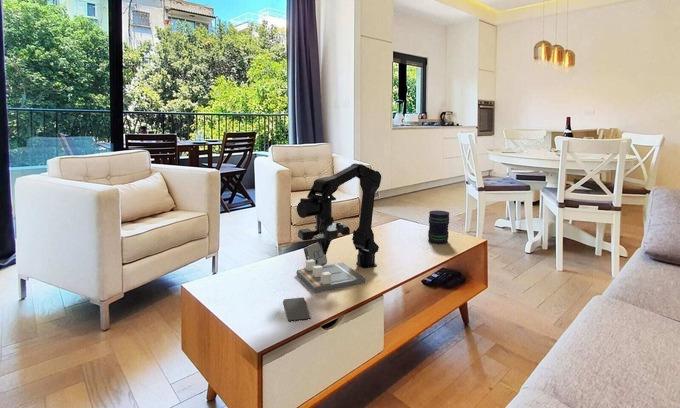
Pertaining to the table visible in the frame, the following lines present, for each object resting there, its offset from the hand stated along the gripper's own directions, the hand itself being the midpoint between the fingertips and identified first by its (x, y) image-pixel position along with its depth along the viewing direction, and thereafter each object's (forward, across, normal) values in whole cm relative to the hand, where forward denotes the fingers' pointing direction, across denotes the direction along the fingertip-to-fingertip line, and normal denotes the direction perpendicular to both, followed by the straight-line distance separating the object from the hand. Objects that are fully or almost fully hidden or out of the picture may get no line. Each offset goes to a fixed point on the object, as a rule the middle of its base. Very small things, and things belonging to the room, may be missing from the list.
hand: (324, 254), depth 147 cm
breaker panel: (+10, +2, 0) cm, 10 cm away
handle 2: (+8, -3, -8) cm, 12 cm away
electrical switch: (+10, +3, +17) cm, 20 cm away
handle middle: (+8, -3, 0) cm, 8 cm away
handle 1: (+8, -3, +7) cm, 11 cm away
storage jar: (+11, +71, +21) cm, 75 cm away
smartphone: (+10, -18, -19) cm, 28 cm away
